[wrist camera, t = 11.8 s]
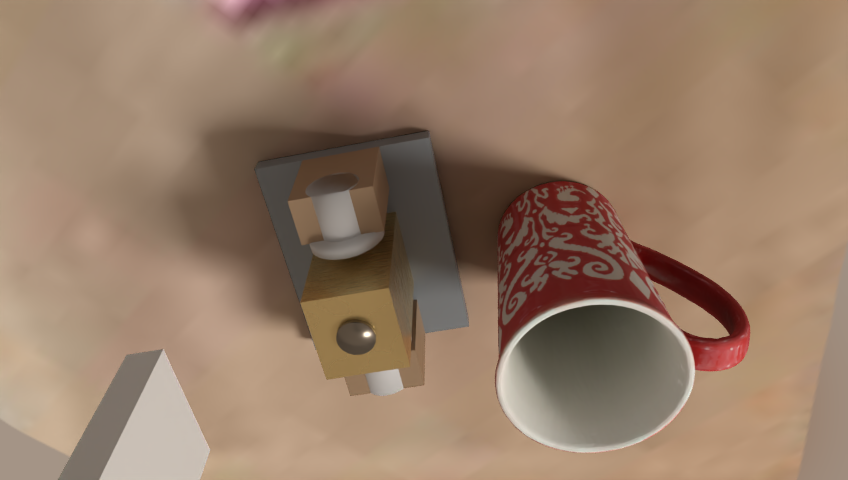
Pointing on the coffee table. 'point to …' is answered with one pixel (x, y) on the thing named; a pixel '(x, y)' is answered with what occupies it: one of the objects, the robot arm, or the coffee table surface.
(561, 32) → the coffee table surface
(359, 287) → the coupler
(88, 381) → the coffee table surface
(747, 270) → the coffee table surface
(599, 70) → the coffee table surface
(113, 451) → the robot arm
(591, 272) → the mug
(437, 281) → the shaft bench
